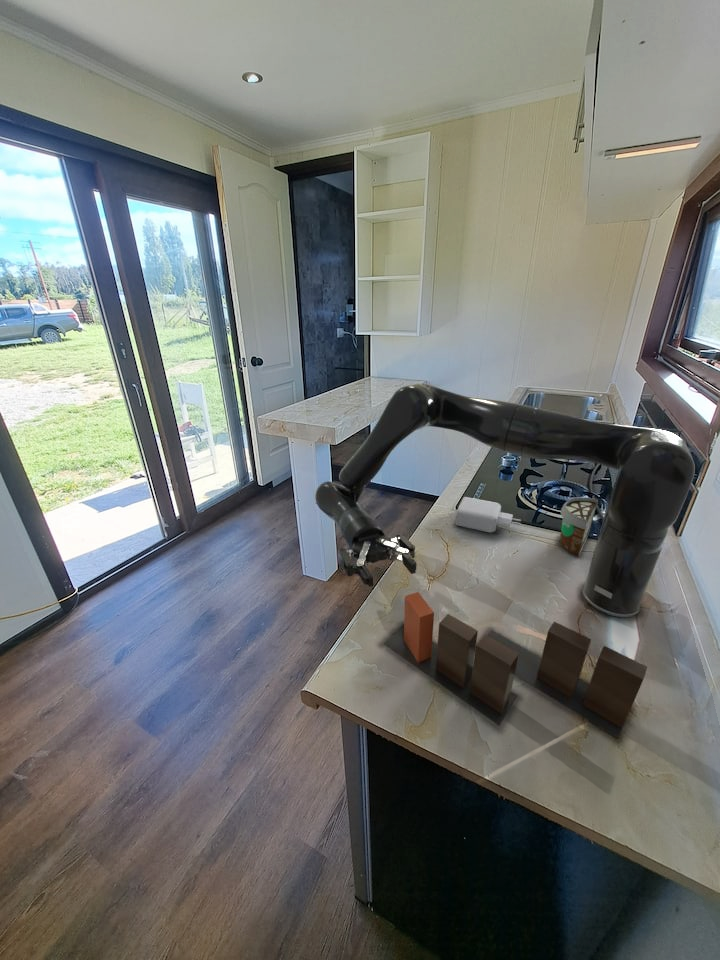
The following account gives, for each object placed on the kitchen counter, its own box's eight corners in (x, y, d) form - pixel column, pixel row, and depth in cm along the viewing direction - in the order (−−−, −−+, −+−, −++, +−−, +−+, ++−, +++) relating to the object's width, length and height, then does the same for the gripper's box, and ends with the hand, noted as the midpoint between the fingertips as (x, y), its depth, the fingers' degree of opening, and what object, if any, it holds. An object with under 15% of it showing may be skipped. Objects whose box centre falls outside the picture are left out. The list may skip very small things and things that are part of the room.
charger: (516, 540, 92) (455, 526, 99) (521, 521, 100) (463, 510, 106) (519, 523, 90) (456, 510, 96) (523, 505, 98) (464, 495, 104)
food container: (561, 526, 97) (570, 491, 93) (589, 534, 93) (598, 498, 89) (547, 549, 89) (555, 512, 84) (576, 559, 85) (586, 521, 81)
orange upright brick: (416, 635, 67) (418, 591, 63) (431, 657, 63) (434, 612, 59) (403, 639, 67) (404, 595, 62) (417, 662, 62) (420, 617, 58)
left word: (404, 624, 70) (405, 580, 66) (517, 696, 57) (527, 647, 52) (383, 644, 66) (382, 599, 62) (498, 727, 53) (508, 677, 49)
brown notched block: (491, 630, 68) (498, 586, 64) (628, 707, 55) (650, 657, 50) (474, 652, 64) (481, 605, 60) (618, 740, 51) (640, 689, 47)
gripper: (327, 523, 79) (355, 570, 65) (389, 508, 83) (428, 549, 70) (330, 553, 82) (357, 603, 68) (389, 537, 87) (426, 581, 73)
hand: (393, 576), depth 69 cm, fingers open, 8 cm apart
